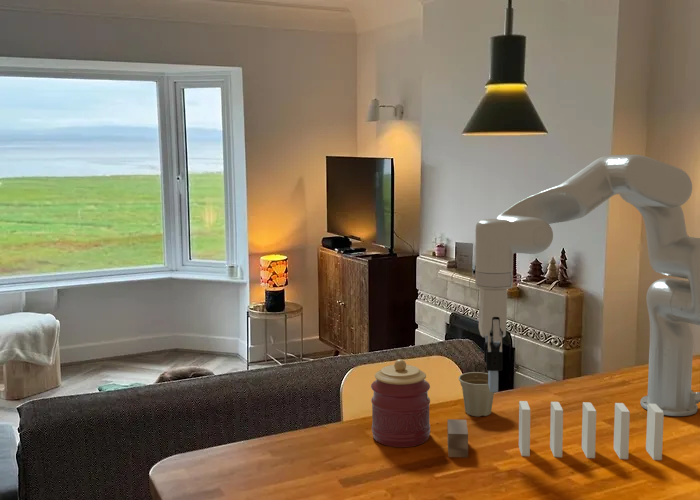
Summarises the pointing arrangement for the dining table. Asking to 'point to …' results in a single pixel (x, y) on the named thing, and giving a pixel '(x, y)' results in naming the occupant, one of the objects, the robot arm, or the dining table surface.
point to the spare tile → (493, 380)
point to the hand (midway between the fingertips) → (493, 365)
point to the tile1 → (654, 431)
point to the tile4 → (556, 429)
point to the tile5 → (524, 428)
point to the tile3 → (588, 429)
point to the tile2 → (621, 430)
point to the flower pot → (476, 393)
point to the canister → (400, 406)
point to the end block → (457, 438)
